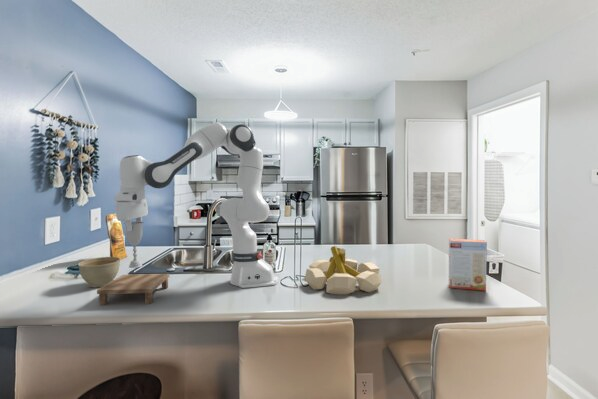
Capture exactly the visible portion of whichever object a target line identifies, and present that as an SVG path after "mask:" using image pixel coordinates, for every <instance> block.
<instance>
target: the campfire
mask: <svg viewBox="0 0 598 399" xmlns="http://www.w3.org/2000/svg"><path fill="white" fill-rule="evenodd" d="M330 251H331V253H332V254H331V255H332V256H331V257H330V258H329V260H326V259H318V260H314V261H313V262H311V263H310V264H309V266H308V268H306V271H305V275H304V280H306V282H307V284H308V286H309V287H310V288H311V289H313V290H323V289H324V287H325V286H326V289H325V290H326V291H325V292H326V293H327V294H333V295H349V294H351V293H354V292H355V290H356V286H357V284H358V287H359V289H360V291H362V292H366V293H372V292H375V291H377V290H378V289H379V287H380V286H381V284H382V277H381V274H380V267H378V266H377V265H376V264H374V263H373V262H371V261H370V262H361V263H359V264H358V260H355V259H351V258H346V249H344V248H341V247H340V248H339V247H337V246H335V245H334V246H331V248H330Z"/></svg>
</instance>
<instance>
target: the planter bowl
mask: <svg viewBox="0 0 598 399" xmlns="http://www.w3.org/2000/svg"><path fill="white" fill-rule="evenodd" d="M120 262H121V260H120V258H117V257H110V256H105V257H103V256H102V257H95V258H90V259H85V260H83V261H81V262H79V263H78V269H79V273H80V276H81V278H82V279H83V281H84V282H85V283H87V284H88V285H87V286H88V287H89V288H102V287H103V286H105V285H107V284H108V283H110V282H112V281H113V280H115V279H116V278H117V277H116V276H117V274H118V273H119V270H120V265H121V264H120Z"/></svg>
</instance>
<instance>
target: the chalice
mask: <svg viewBox="0 0 598 399" xmlns="http://www.w3.org/2000/svg"><path fill="white" fill-rule="evenodd" d="M123 224H124V226H125V236H126V239H127V240H128V242H129V244H130V245H131V246H132V247H133V248H132V252H133V254H132V256H133V260H131V261H130V263H129V266H128V268H129V269H137V268H141V267H143V264H142V262H141V260H140V259H138V258H137V255H138V253H137V251H138V249H137V246H138V245H139V244H140V242H141V240H142V238H143V233H144V232H143V231H144V230H143V224H144V221H142V222H136V221H132V222H131V224H132V226H133V230H132V231H127V227H126V224H125V222H124V223H123Z"/></svg>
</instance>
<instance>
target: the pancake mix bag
mask: <svg viewBox="0 0 598 399" xmlns="http://www.w3.org/2000/svg"><path fill="white" fill-rule="evenodd" d="M105 224H106V229H107V236H108V238H109V239H108V240H109V257H117V258H120V261H121V260H123V259H125V258H127V257H128V256H127V250H126V246H125V238H124V237H125V236H124V230H123V225H122V221H118V220H117V217H116V212H114V213H109V214H107V215H106V216H105Z"/></svg>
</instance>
